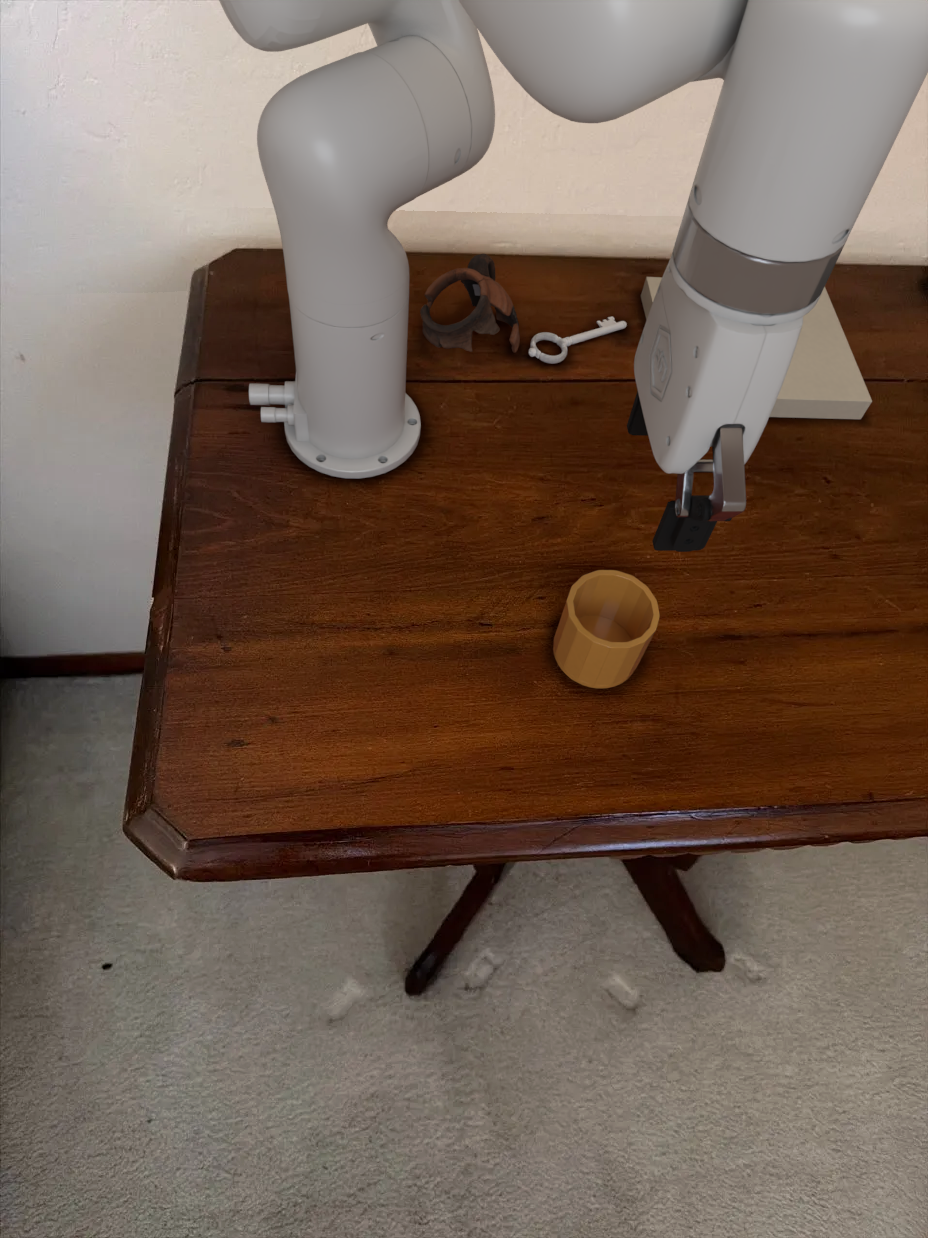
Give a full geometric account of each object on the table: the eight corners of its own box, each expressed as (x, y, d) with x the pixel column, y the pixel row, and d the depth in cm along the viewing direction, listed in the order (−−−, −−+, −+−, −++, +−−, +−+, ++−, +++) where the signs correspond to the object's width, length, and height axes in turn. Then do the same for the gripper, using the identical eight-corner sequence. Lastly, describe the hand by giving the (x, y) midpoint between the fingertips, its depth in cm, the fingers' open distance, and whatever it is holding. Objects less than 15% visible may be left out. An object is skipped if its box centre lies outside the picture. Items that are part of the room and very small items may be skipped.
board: (668, 414, 87) (676, 395, 85) (640, 295, 97) (646, 276, 95) (860, 419, 89) (872, 401, 87) (814, 302, 99) (823, 283, 97)
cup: (557, 689, 70) (573, 647, 64) (548, 614, 73) (562, 569, 68) (643, 688, 70) (666, 647, 65) (630, 614, 74) (651, 569, 69)
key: (518, 344, 91) (539, 370, 89) (519, 336, 90) (540, 362, 88) (614, 315, 94) (636, 339, 93) (616, 308, 94) (638, 332, 92)
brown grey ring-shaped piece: (524, 377, 89) (494, 328, 82) (439, 391, 93) (404, 345, 86) (532, 278, 93) (504, 223, 85) (450, 295, 96) (417, 244, 89)
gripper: (647, 147, 47) (587, 392, 61) (717, 371, 37) (627, 598, 52) (783, 153, 47) (692, 393, 62) (885, 374, 38) (750, 597, 52)
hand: (662, 486), depth 57 cm, fingers open, 9 cm apart
